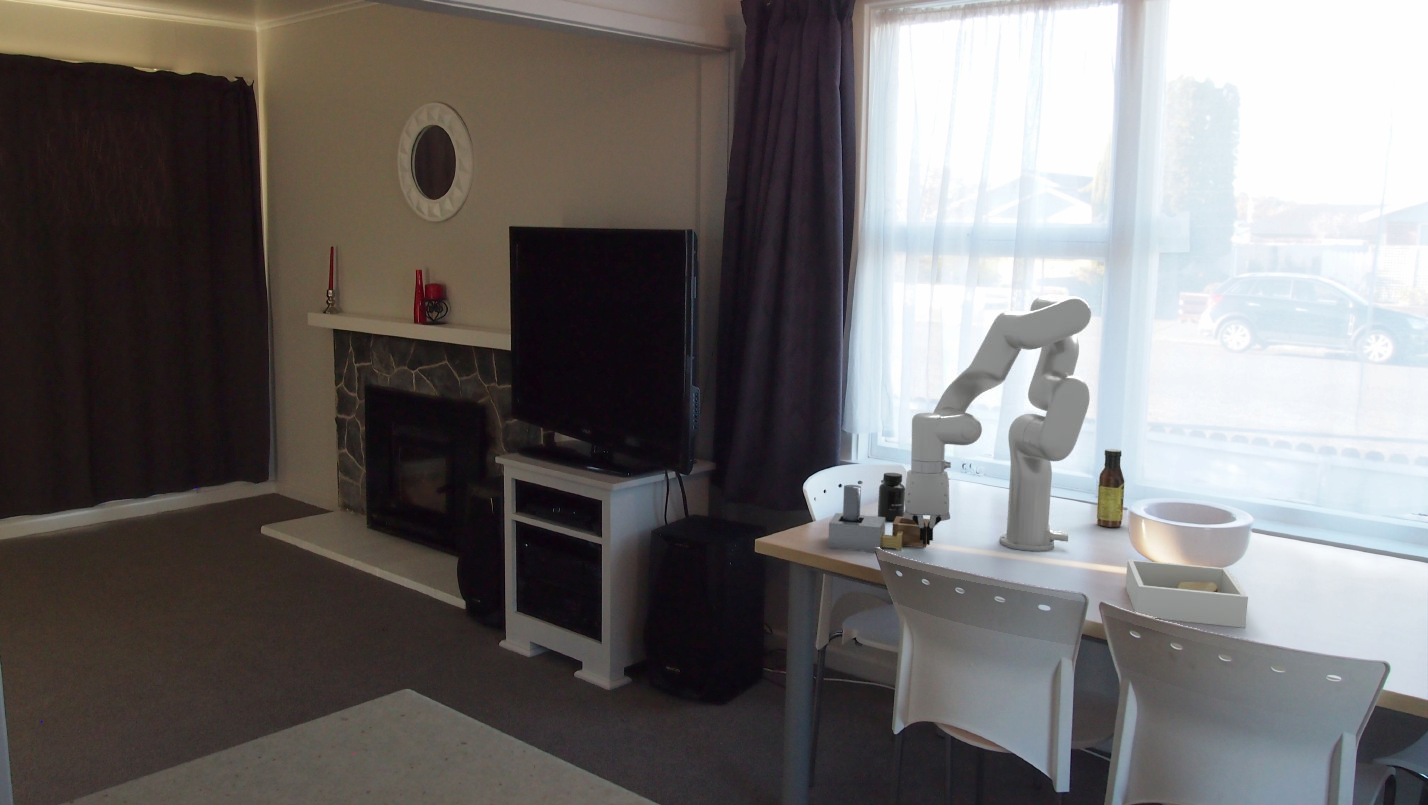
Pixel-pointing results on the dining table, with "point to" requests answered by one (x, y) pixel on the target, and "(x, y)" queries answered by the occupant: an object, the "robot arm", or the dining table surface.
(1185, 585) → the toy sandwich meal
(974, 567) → the dining table surface
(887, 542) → the tan blocky piece
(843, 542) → the socket block
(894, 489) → the supplement bottle
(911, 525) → the wooden open box
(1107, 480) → the sauce bottle
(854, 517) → the grey rounded bar
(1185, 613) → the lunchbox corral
